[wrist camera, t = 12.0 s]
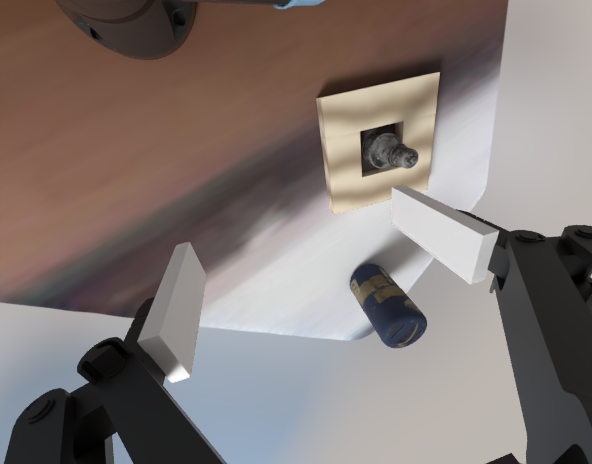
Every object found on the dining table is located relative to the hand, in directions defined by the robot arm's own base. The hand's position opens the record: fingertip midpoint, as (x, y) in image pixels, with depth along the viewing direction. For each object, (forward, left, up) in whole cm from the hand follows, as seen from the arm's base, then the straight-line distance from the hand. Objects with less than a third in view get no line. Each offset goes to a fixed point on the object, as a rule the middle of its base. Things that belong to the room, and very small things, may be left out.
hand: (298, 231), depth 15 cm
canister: (+35, +18, -29) cm, 49 cm away
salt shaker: (+4, +21, -29) cm, 36 cm away
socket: (+4, +21, -29) cm, 36 cm away
